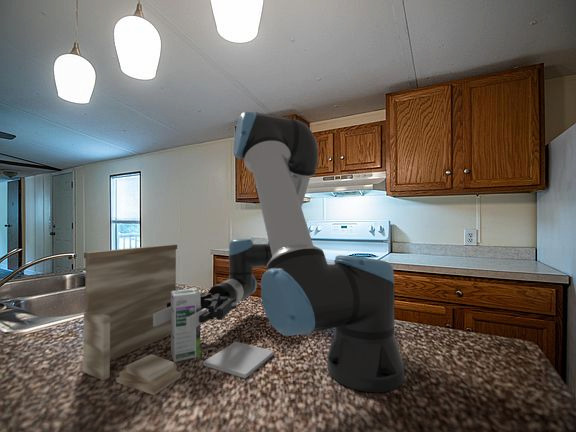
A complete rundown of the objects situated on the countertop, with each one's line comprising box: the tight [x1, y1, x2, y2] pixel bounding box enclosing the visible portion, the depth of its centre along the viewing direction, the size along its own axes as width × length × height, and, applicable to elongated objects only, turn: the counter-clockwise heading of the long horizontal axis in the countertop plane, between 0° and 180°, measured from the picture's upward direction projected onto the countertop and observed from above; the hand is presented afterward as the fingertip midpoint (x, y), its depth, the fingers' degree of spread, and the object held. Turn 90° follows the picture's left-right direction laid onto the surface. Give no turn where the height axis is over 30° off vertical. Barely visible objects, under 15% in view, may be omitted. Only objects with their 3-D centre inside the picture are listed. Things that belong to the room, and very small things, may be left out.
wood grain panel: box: [82, 243, 178, 381], centre depth 66 cm, size 8×23×24 cm, turn 153°
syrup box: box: [170, 287, 201, 363], centre depth 64 cm, size 6×6×14 cm
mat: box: [202, 341, 275, 379], centre depth 62 cm, size 11×11×1 cm
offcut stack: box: [115, 353, 182, 396], centre depth 54 cm, size 10×7×4 cm
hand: (170, 322), depth 59 cm, fingers closed on syrup box, 8 cm apart
